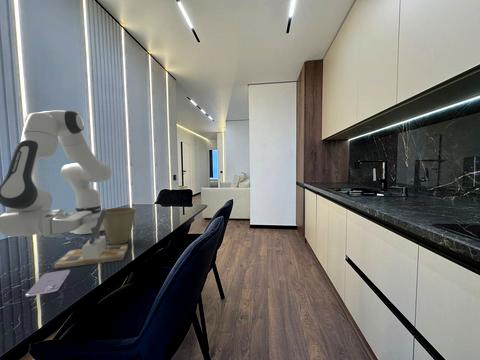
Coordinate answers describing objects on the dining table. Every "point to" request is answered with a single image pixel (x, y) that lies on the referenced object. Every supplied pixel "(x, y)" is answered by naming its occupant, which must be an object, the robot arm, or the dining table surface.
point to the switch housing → (94, 248)
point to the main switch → (98, 226)
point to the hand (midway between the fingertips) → (98, 218)
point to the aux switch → (93, 231)
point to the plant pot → (118, 224)
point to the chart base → (77, 259)
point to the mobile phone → (48, 283)
